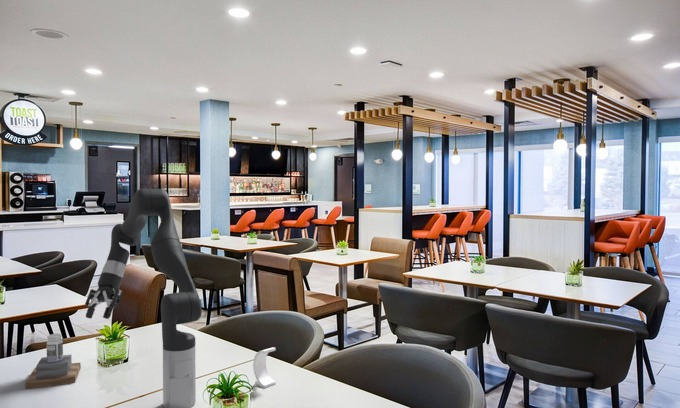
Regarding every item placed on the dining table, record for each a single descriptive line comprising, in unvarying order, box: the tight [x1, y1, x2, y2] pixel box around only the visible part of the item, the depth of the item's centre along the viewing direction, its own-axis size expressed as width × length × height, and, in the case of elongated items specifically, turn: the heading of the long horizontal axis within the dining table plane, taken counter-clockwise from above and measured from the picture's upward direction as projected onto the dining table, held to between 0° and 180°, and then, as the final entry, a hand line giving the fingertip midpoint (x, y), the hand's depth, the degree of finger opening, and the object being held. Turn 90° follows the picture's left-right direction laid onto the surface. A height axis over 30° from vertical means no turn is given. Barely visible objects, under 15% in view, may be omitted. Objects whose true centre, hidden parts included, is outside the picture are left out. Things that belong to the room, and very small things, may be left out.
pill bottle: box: [45, 333, 64, 362], centre depth 163 cm, size 5×5×8 cm
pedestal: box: [24, 354, 81, 390], centre depth 163 cm, size 14×14×6 cm
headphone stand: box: [252, 347, 277, 389], centre depth 159 cm, size 5×6×12 cm
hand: (97, 318), depth 172 cm, fingers open, 8 cm apart
